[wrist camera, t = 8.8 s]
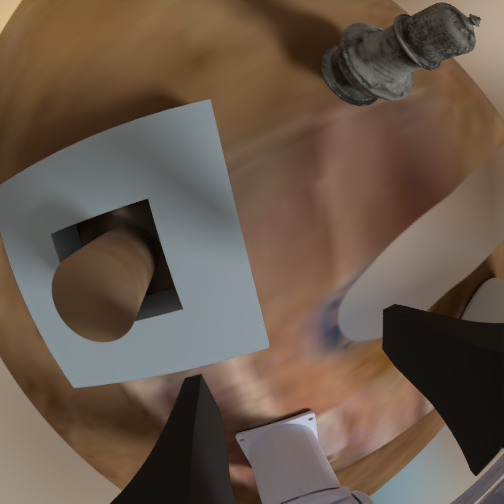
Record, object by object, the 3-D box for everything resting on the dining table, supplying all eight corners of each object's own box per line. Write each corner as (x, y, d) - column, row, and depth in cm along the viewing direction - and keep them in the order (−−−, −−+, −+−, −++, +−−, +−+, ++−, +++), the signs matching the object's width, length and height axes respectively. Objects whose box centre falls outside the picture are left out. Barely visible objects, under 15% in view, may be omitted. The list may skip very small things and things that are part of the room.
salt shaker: (323, 107, 16) (467, 51, 5) (310, 36, 14) (414, -54, 3) (389, 113, 17) (522, 92, 6) (375, 48, 15) (486, -1, 4)
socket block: (257, 319, 19) (269, 347, 16) (86, 360, 17) (73, 388, 14) (207, 115, 15) (210, 99, 11) (20, 186, 13) (-9, 190, 10)
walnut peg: (165, 277, 17) (150, 334, 10) (111, 289, 16) (74, 347, 10) (149, 216, 16) (118, 242, 9) (93, 232, 15) (39, 265, 9)
